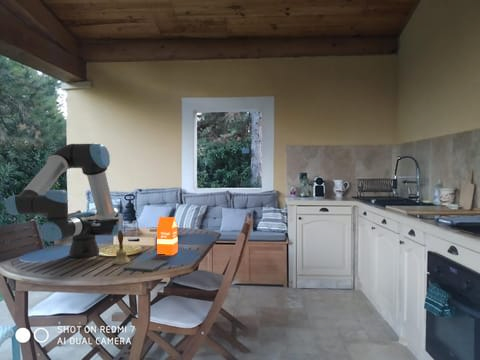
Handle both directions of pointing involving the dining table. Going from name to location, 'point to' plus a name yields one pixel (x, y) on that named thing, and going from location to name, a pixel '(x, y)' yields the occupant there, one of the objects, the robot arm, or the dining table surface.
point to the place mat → (146, 265)
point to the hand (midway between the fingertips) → (108, 218)
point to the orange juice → (167, 236)
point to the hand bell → (121, 252)
